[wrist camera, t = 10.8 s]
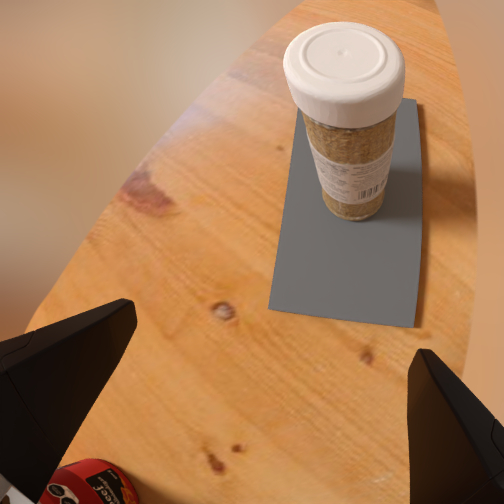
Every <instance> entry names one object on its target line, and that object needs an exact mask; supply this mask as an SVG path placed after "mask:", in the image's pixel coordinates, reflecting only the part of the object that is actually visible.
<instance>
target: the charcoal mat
mask: <svg viewBox="0 0 504 504" xmlns="http://www.w3.org/2000/svg"><path fill="white" fill-rule="evenodd" d="M384 191H385V195H384V198H383V202H382V205H381V206H380V208H379V209H378V210H377V212H376V213H375V214H373V215H371V216H370V217H368V218H366V219H364V220H360V221H349V220H344V219H342V218H339V217H337V216H336V215H334V214H333V213H332V212H331V211H330V210H329V209H328V207H327V206H326V204H325V202H324V200H323V196H322V185H321V183H320V181H319V177H318V173H317V169H316V165H315V162H314V158H313V154H312V151H311V147H310V144H309V140H308V136H307V131H306V125H305V122H304V118H303V115H302V112H301V109H300V108H299V107H298V112H297V120H296V127H295V134H294V142H293V149H292V156H291V163H290V170H289V177H288V184H287V191H286V198H285V204H284V211H283V218H282V224H281V231H280V237H279V244H278V250H277V256H276V263H275V269H274V275H273V281H272V287H271V293H270V299H269V305H268V309H271V310H277V311H284V312H290V313H297V314H304V315H311V316H318V317H325V318H332V319H340V320H348V321H355V322H364V323H372V324H381V325H389V326H399V327H408V328H413V327H414V320H415V312H416V304H417V295H418V285H419V273H420V260H421V242H422V164H421V146H420V132H419V121H418V112H417V103H416V100H414V99H406V98H402V100H401V103H400V105H399V107H398V109H397V113H396V121H395V140H394V146H393V152H392V158H391V163H390V169H389V174H388V178H387V182H386V185H385V187H384Z"/></svg>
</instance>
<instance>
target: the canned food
mask: <svg viewBox="0 0 504 504" xmlns="http://www.w3.org/2000/svg"><path fill="white" fill-rule="evenodd" d="M7 495H8V496H9V498H10V504H34V503H33V502H31V501H30V500H29V499H27V498H26V497H25V496H23V495H22V494H21V493H20V492H18V491H17V490H16V489H15V488H13V487H11V488H10V490H9V491H8V492H7ZM37 504H139V500H138V497H137V494H136V492H135V489H134V488H133V486H132V484H131V483H130V481H129V480H128V479H127V478H126V476H125V475H124V474H123V473H122V472H121V471H120V470H118V469H117V468H116V467H115V466H113V465H112V464H110V463H108V462H106V461H104V460H101V459H84V460H81V461H78V462H75V463H72V464H69V465H66V466H62V467H59V468H57V469H56V470H55V472H54V474H53V476H52V478H51V480H50V481H49V483H48V485H47V487H46V489H45V491H44V493H43V494H42V496H41V498H40V500H39V502H38V503H37Z"/></svg>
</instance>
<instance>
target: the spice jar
mask: <svg viewBox="0 0 504 504" xmlns="http://www.w3.org/2000/svg"><path fill="white" fill-rule="evenodd" d="M283 66H284V71H285V75H286V79H287V82H288V85H289V88H290V91H291V94H292V97H293V100H294V101H295V103H296V105H297V106H298V107H299V108H300V109H301V112H302V115H303V118H304V122H305V125H306V131H307V136H308V140H309V144H310V147H311V151H312V154H313V158H314V162H315V165H316V169H317V173H318V177H319V181H320V183H321V185H322V196H323V200H324V202H325V204H326V206H327V207H328V209H329V210H330V211H331V212H332V213H333V214H334V215H336V216H337V217H339V218H342V219H344V220H349V221H360V220H364V219H366V218H368V217H370V216H371V215H373V214H375V213H376V212H377V210H378V209H379V208H380V206H381V205H382V202H383V198H384V195H385V191H384V187H385V185H386V182H387V178H388V174H389V169H390V163H391V158H392V152H393V146H394V140H395V121H396V113H397V109H398V107H399V105H400V103H401V100H402V97H403V91H404V82H405V61H404V57H403V54H402V52H401V50H400V49H399V47H398V46H397V44H396V43H395V42H394V41H393V40H392V39H391V38H390V37H388V36H387V35H386V34H384V33H382V32H381V31H379V30H377V29H375V28H373V27H370V26H367V25H363V24H359V23H354V22H331V23H325V24H321V25H317V26H314V27H312V28H310V29H308V30H306V31H304V32H302V33H301V34H299V35H298V36H297V37H296V38H295V39H294V40H293V41H292V42H291V43H290V45H289V46H288V48H287V50H286V52H285V55H284V61H283Z"/></svg>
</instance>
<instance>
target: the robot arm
mask: <svg viewBox="0 0 504 504" xmlns="http://www.w3.org/2000/svg"><path fill="white" fill-rule="evenodd" d="M136 327H137V316H136V310H135V305H134V302H133V301H132V300H128V299H124V298H121V299H118V300H116V301H113V302H110V303H107V304H105V305H102V306H99V307H97V308H94V309H91V310H88V311H86V312H83V313H80V314H78V315H75V316H72V317H69V318H67V319H64V320H61V321H59V322H56V323H53V324H50V325H48V326H45V327H42V328H40V329H37V330H35V331H31V332H29V333H26V334H23V335H20V336H18V337H15V338H12V339H8V340H5V341H1V342H0V504H10V498H9V496H8V495H7V492H8V491H9V490H10V488H11V487H13V488H15V489H16V490H17V491H18V492H20V493H21V494H22V495H23V496H25V497H26V498H27V499H29V500H30V501H31V502H33V503H34V504H37V503H38V502H39V500H40V498H41V496H42V494H43V493H44V491H45V489H46V487H47V485H48V483H49V481H50V480H51V478H52V476H53V474H54V472H55V470H56V469H57V467H58V465H59V463H60V461H61V460H62V457H63V456H64V454H65V452H66V450H67V449H68V447H69V445H70V443H71V442H72V440H73V438H74V436H75V435H76V433H77V431H78V430H79V428H80V426H81V424H82V423H83V421H84V419H85V418H86V416H87V414H88V413H89V411H90V409H91V408H92V406H93V404H94V403H95V401H96V399H97V398H98V396H99V394H100V393H101V391H102V390H103V388H104V386H105V385H106V383H107V381H108V380H109V378H110V377H111V375H112V373H113V372H114V370H115V369H116V367H117V365H118V363H119V362H120V360H121V358H122V356H123V354H124V352H125V350H126V348H127V346H128V344H129V342H130V340H131V337H132V335H133V333H134V331H135V329H136ZM407 425H408V440H409V463H410V504H504V427H503V426H502V425H501V423H500V422H499V421H498V420H497V419H495V417H494V416H493V415H492V414H491V412H490V411H489V410H488V409H487V408H486V407H485V406H484V405H483V404H482V402H481V401H480V400H479V399H478V398H477V397H476V396H475V395H474V394H473V393H472V392H471V391H470V390H469V388H468V387H467V386H466V385H465V384H464V383H463V382H462V381H461V380H460V379H459V378H458V377H457V376H456V375H455V374H454V373H453V372H452V371H451V369H450V368H449V367H448V366H447V365H446V364H445V363H444V362H443V361H442V360H441V359H440V358H439V357H438V356H437V355H436V354H435V353H434V352H433V351H432V350H430V349H418V350H417V352H416V354H415V356H414V358H413V361H412V363H411V365H410V367H409V370H408V398H407Z"/></svg>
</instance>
